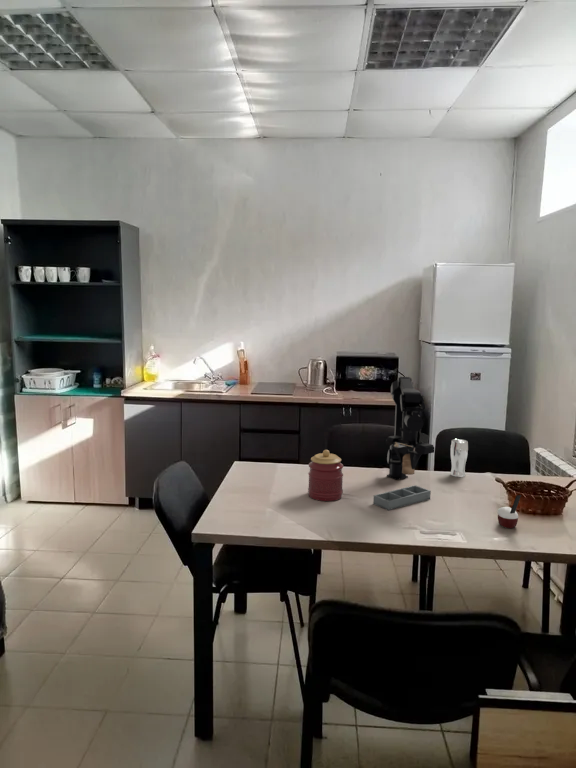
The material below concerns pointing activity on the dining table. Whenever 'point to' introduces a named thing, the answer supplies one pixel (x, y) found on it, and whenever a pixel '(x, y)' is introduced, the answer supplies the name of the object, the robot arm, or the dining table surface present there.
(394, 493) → the grey compartment tray
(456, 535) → the dining table surface
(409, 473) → the brown rounded cylinder
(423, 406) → the robot arm
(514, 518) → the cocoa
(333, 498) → the canister
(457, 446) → the beer glass
